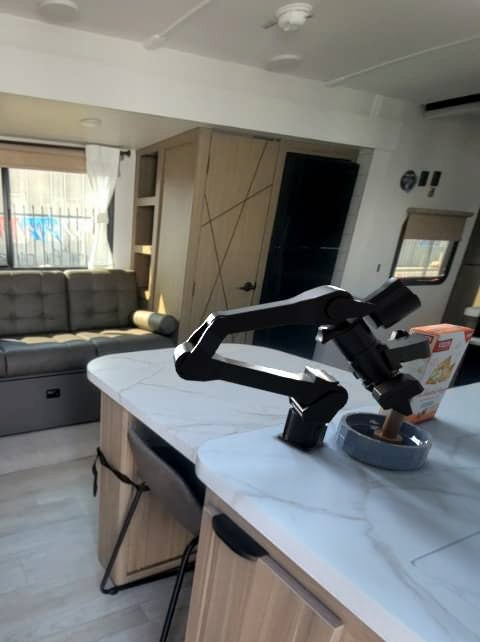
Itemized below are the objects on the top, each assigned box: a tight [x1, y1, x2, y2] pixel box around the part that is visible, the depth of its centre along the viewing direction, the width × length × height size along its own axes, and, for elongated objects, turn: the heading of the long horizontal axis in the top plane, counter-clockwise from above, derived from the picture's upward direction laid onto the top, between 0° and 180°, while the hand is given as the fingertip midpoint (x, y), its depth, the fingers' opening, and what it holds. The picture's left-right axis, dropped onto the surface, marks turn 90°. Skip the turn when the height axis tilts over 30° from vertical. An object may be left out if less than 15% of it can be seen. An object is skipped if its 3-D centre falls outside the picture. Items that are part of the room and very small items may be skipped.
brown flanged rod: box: [372, 398, 413, 445], centre depth 75 cm, size 5×5×11 cm
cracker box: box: [377, 323, 475, 424], centre depth 88 cm, size 14×6×21 cm, turn 117°
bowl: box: [334, 411, 434, 471], centre depth 77 cm, size 15×15×5 cm
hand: (406, 411), depth 74 cm, fingers closed on brown flanged rod, 2 cm apart
